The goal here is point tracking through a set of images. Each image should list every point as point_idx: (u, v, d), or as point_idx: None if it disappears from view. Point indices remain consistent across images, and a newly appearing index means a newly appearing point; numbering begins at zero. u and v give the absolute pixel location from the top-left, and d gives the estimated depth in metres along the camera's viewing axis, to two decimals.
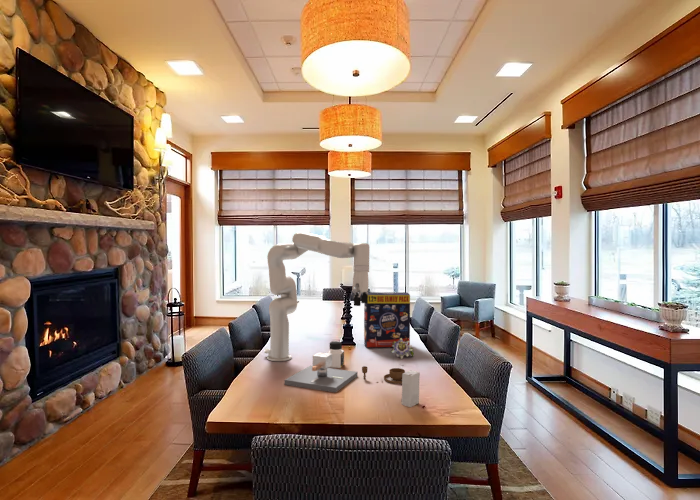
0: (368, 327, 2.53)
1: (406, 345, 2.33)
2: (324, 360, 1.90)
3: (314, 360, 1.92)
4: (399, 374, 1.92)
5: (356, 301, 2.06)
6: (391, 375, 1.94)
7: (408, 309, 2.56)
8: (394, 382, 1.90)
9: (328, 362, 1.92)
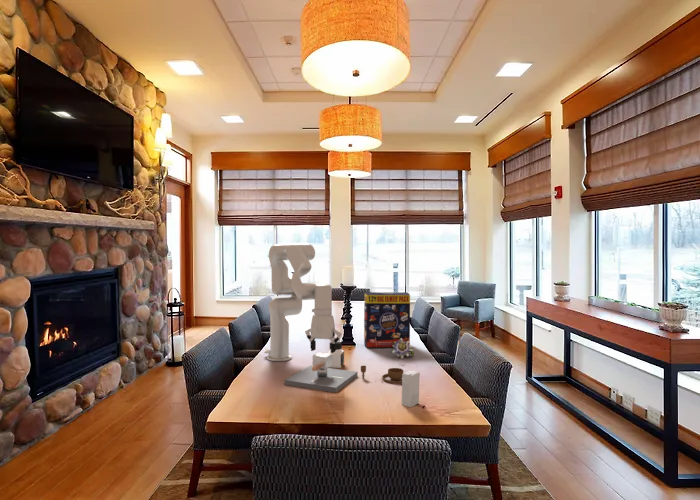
0: (368, 327, 2.53)
1: (406, 345, 2.33)
2: (324, 360, 1.90)
3: (314, 360, 1.92)
4: (397, 374, 1.93)
5: (335, 347, 1.91)
6: (389, 375, 1.94)
7: (408, 309, 2.56)
8: (392, 382, 1.91)
9: (328, 362, 1.92)
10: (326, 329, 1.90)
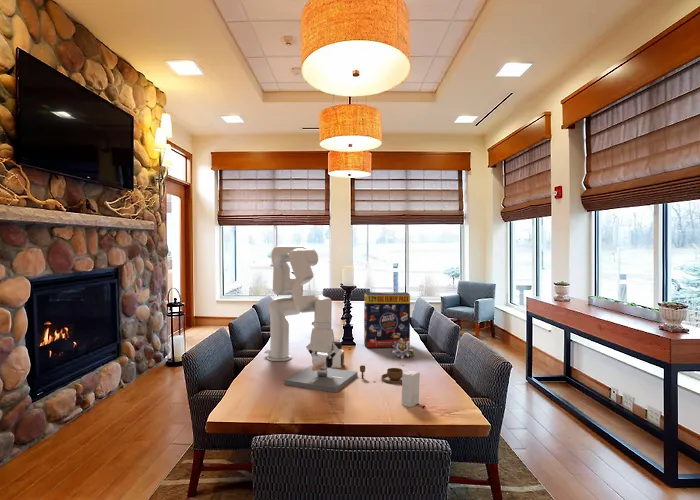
0: (368, 327, 2.53)
1: (406, 345, 2.33)
2: (324, 360, 1.90)
3: (314, 360, 1.92)
4: (396, 374, 1.93)
5: (331, 362, 1.92)
6: (388, 375, 1.94)
7: (408, 309, 2.56)
8: (391, 382, 1.91)
9: None
10: (325, 343, 1.90)
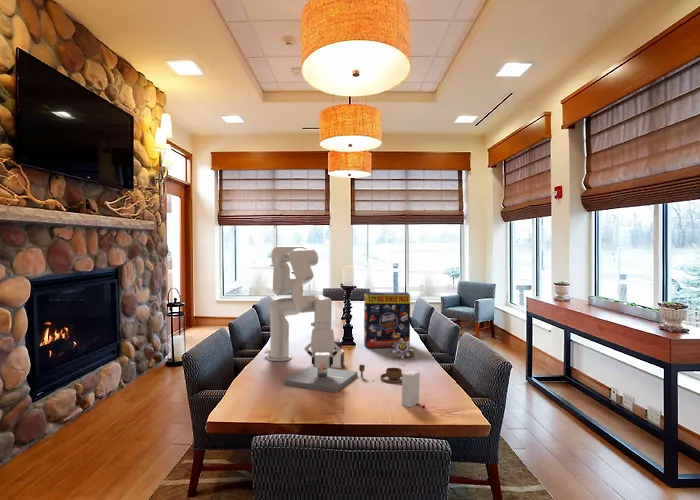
0: (368, 327, 2.53)
1: (406, 345, 2.33)
2: (327, 360, 1.90)
3: (316, 361, 1.91)
4: (395, 373, 1.93)
5: (332, 361, 1.94)
6: (387, 374, 1.95)
7: (408, 309, 2.56)
8: (389, 381, 1.91)
9: (329, 361, 1.94)
10: (329, 342, 1.91)
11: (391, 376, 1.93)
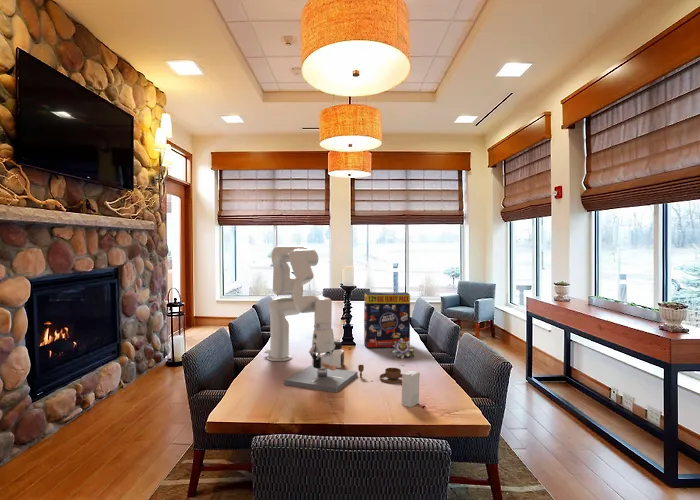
0: (368, 327, 2.53)
1: (407, 345, 2.33)
2: (331, 358, 1.93)
3: (322, 361, 1.90)
4: (394, 374, 1.93)
5: None
6: (386, 374, 1.95)
7: (408, 309, 2.56)
8: (388, 381, 1.91)
9: None
10: (331, 341, 1.94)
11: (390, 376, 1.93)
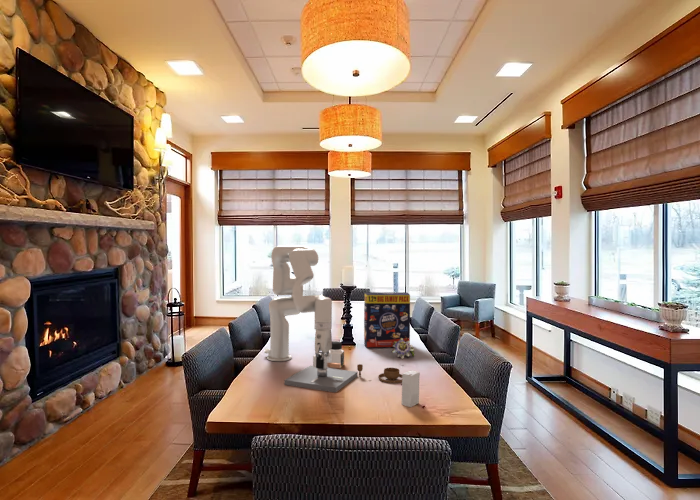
0: (368, 327, 2.53)
1: (407, 345, 2.33)
2: (331, 357, 1.95)
3: (327, 361, 1.91)
4: (392, 373, 1.93)
5: None
6: (385, 374, 1.95)
7: (408, 309, 2.56)
8: (386, 381, 1.92)
9: None
10: (330, 340, 1.96)
11: (388, 376, 1.94)
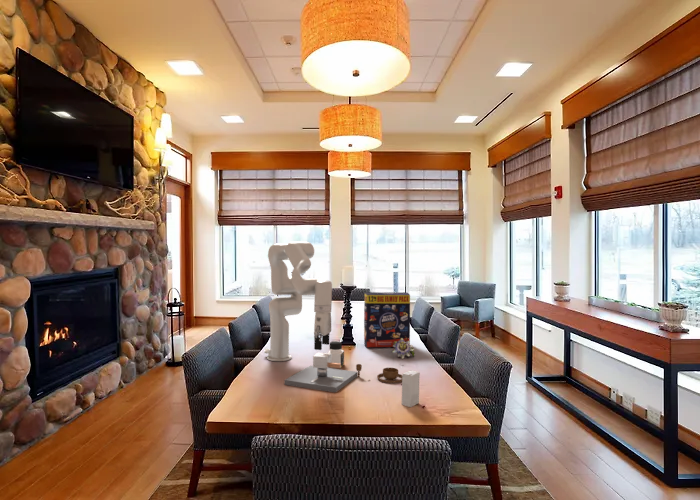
0: (368, 327, 2.53)
1: (407, 345, 2.33)
2: (330, 357, 1.95)
3: (327, 361, 1.91)
4: (391, 373, 1.93)
5: None
6: (384, 374, 1.95)
7: (408, 309, 2.56)
8: (385, 381, 1.91)
9: None
10: (330, 323, 1.96)
11: (387, 376, 1.94)
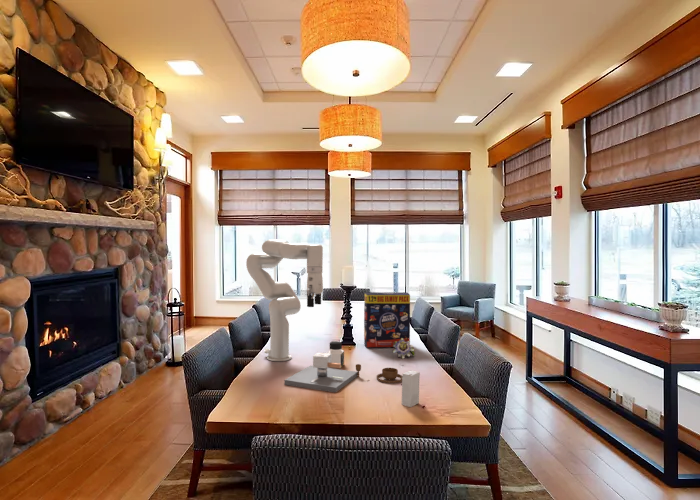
0: (368, 327, 2.53)
1: (407, 345, 2.33)
2: (330, 357, 1.95)
3: (327, 361, 1.91)
4: (390, 374, 1.93)
5: None
6: (383, 374, 1.95)
7: (408, 309, 2.56)
8: (384, 381, 1.91)
9: None
10: (321, 284, 2.14)
11: (387, 376, 1.93)
